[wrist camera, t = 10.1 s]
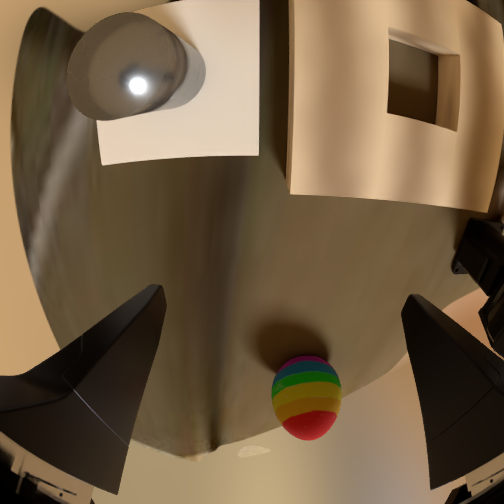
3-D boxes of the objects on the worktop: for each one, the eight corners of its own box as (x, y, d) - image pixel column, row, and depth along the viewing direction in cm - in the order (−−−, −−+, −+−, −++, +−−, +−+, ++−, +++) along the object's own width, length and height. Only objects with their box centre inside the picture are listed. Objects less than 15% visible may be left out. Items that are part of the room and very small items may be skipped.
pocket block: (480, 25, 10) (501, 24, 7) (468, 199, 19) (487, 212, 17) (287, -39, 10) (291, -57, 7) (285, 180, 19) (290, 194, 17)
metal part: (205, 37, 13) (169, 0, 6) (206, 105, 16) (169, 111, 9) (135, 49, 13) (67, 32, 7) (137, 113, 16) (69, 130, 9)
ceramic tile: (259, -2, 12) (259, -6, 11) (258, 153, 18) (258, 155, 18) (100, 25, 12) (95, 23, 12) (106, 162, 19) (102, 165, 18)
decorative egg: (258, 361, 31) (257, 437, 22) (322, 338, 28) (336, 419, 20) (288, 388, 34) (291, 453, 26) (343, 370, 32) (356, 436, 24)
